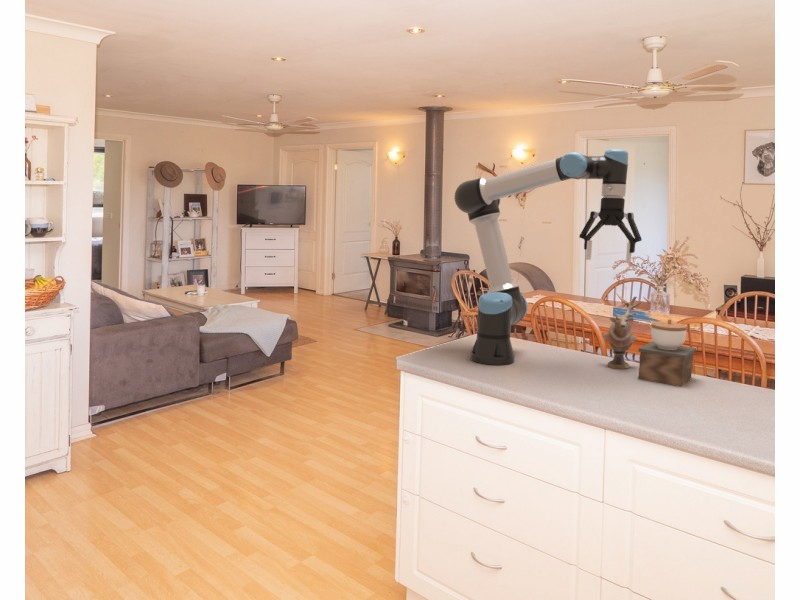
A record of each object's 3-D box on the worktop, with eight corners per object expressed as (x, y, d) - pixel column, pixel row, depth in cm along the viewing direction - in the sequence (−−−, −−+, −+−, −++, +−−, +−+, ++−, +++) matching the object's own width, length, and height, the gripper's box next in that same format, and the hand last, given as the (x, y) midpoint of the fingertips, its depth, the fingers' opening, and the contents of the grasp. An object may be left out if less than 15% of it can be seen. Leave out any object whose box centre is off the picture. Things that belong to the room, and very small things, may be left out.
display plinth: (636, 378, 204) (638, 348, 203) (649, 370, 215) (651, 341, 214) (682, 387, 196) (685, 355, 194) (693, 378, 207) (696, 348, 205)
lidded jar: (653, 343, 211) (656, 315, 210) (688, 347, 205) (691, 319, 204) (645, 348, 203) (648, 319, 201) (681, 353, 197) (684, 323, 195)
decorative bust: (618, 370, 210) (624, 294, 210) (596, 365, 222) (601, 294, 222) (646, 371, 213) (651, 297, 213) (622, 367, 225) (627, 297, 225)
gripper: (572, 196, 215) (568, 258, 218) (648, 197, 200) (642, 264, 203) (581, 197, 221) (576, 257, 224) (655, 198, 206) (649, 263, 209)
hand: (607, 261), depth 214 cm, fingers open, 13 cm apart
